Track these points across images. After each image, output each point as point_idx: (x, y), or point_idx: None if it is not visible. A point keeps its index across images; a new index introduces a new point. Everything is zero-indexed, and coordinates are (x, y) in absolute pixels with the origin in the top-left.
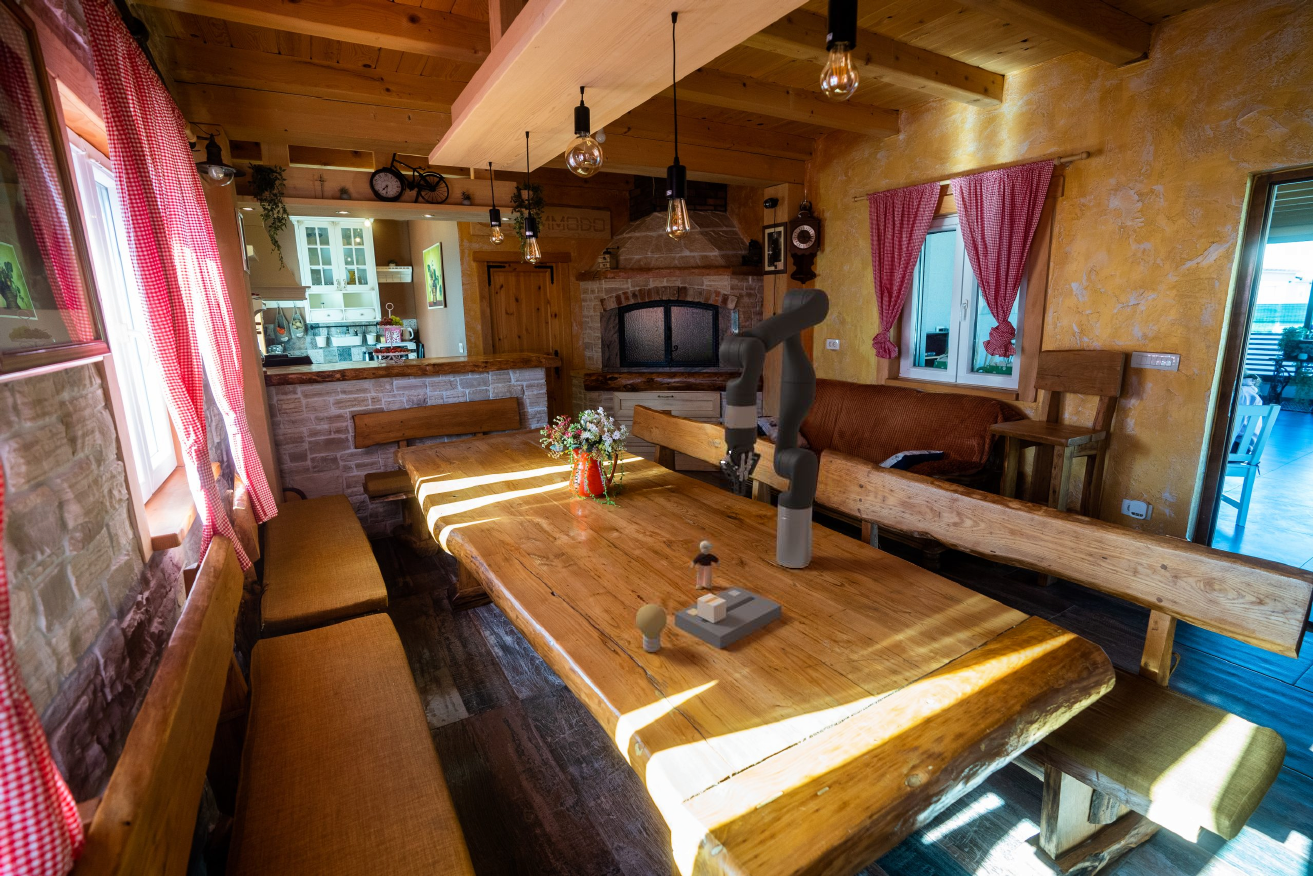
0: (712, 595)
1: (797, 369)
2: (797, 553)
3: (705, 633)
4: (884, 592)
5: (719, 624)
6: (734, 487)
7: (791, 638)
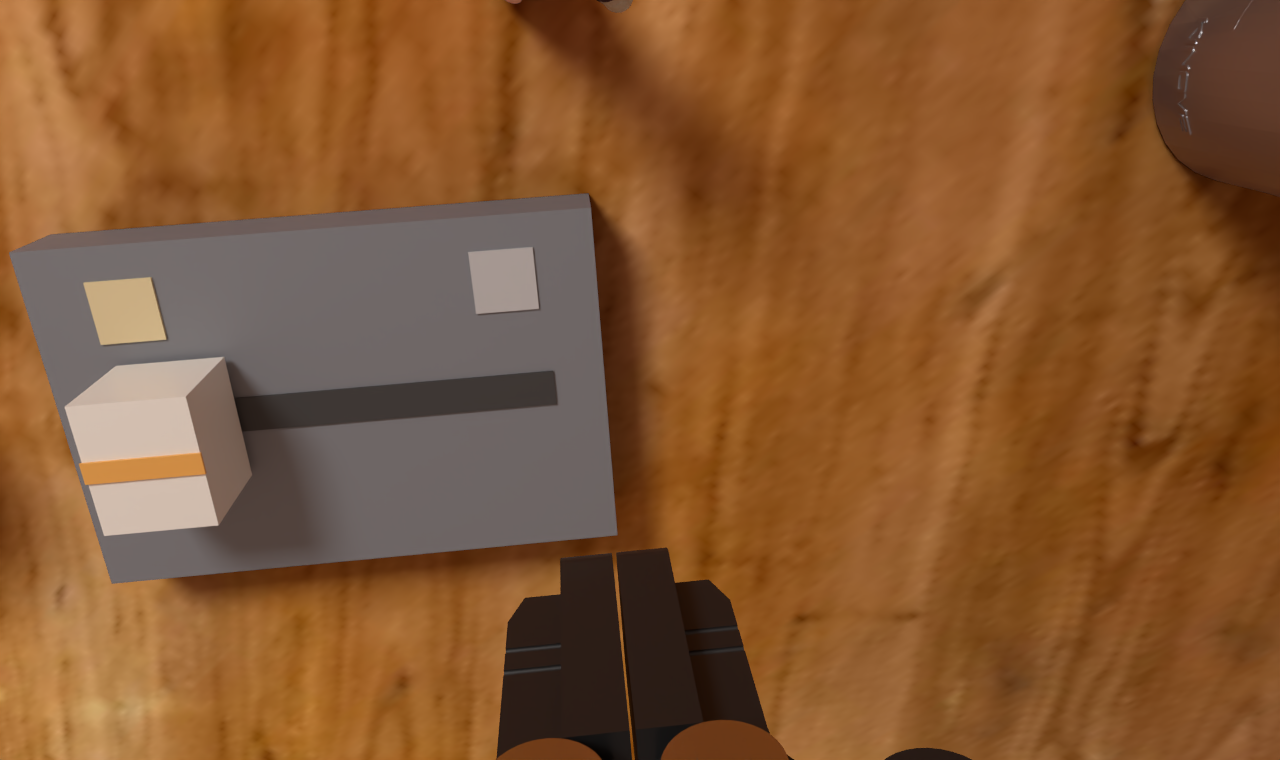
0: (183, 428)
1: None
2: (1256, 178)
3: None
4: (1202, 616)
5: None
6: (507, 682)
7: (498, 648)
